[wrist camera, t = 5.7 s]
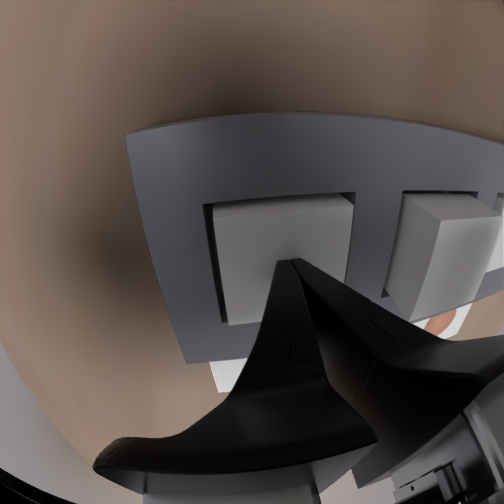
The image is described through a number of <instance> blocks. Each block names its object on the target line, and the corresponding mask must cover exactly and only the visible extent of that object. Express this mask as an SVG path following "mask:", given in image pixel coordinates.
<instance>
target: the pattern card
mask: <svg viewBox="0 0 504 504" xmlns="http://www.w3.org/2000/svg"><path fill="white" fill-rule="evenodd" d="M471 305H472V303H470V304H468V305H465V306H462V307H460V308H457V309H454V310H452V311H449V312H446V313H443V314H440V315H437V316H434V317H431V318H428V319H425V320H422V321H419V322H416V323H413V324H414V325H416V326H418V327H420V328H422V329H424V330H426V331H428V332H430V333H432V334H434V335H436V336H438V337H440V338H442V339H446V338H448V337H451V336H453V335H455V334H457V332H458V330H459V328H460V327H461V325H462V323H463V321H464V319H465V317H466V315H467V313H468V311H469V309H470V307H471ZM247 359H248V358H244V359H235V360H226V361H215V362H209V363H210V367H211V370H212V373H213V377H214V380H215V383H216V386H217V389H218V392H219V393H220V392H231V390H232V388H233V386H234V385H235V383H236V381H237V379H238V377H239V375H240V373H241V371H242V369H243V367H244V365H245V363H246V361H247Z"/></svg>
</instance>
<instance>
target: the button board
mask: <svg viewBox="0 0 504 504" xmlns="http://www.w3.org/2000/svg"><path fill="white" fill-rule="evenodd" d="M125 137H126V144H127V150H128V156H129V162H130V167H131V173H132V178H133V183H134V188H135V193H136V198H137V202H138V207H139V211H140V215H141V220H142V224H143V228H144V232H145V236H146V240H147V244H148V248H149V251H150V255H151V259H152V262H153V266H154V269H155V273H156V276H157V279H158V283H159V286H160V289H161V292H162V296H163V299H164V302H165V305H166V308H167V311H168V314H169V317H170V320H171V323H172V326H173V328H174V331H175V334H176V337H177V339H178V342H179V345H180V348H181V350H182V353H183V355H184V358H185V361H186V363H187V364H188V363H203V362H215V361H226V360H235V359H244V358H248V357H249V355H250V352H251V350H252V348H253V345H254V343H255V341H256V337H257V334H258V331H259V328H260V324H261V322H255V323H247V324H238V325H229V323H228V317H227V311H226V305H225V299H224V292H223V286H222V279H221V273H220V266H219V259H218V252H217V245H216V238H215V230H214V223H213V203H215V202H224V201H233V200H243V199H254V198H265V197H276V196H289V195H303V194H318V193H336V192H338V193H339V194H341V195H342V196H343V197H344V198H345V199H347V200H348V201H349V202H350V203H351V204H353V205H354V208H353V218H352V227H351V236H350V244H349V251H348V258H347V265H346V272H345V278H344V284H345V285H347V286H349V287H350V288H352V289H354V290H355V291H357V292H359V293H360V294H362V295H363V296H365V297H367V298H368V299H370V300H371V301H372V302H375V303H376V304H378V305H380V306H381V307H383V308H385V309H386V310H388V311H390V312H391V313H393V314H395V315H397V316H399V317H401V318H402V319H404V320H406V321H408V320H407V318H406V317H405V316H404V314H403V313H402V311H401V310H400V309H399V307H398V306H397V304H396V303H395V302H394V300H393V299H392V298H391V296H390V295H389V294H388V292H387V291H386V290H385V288H384V283H385V279H386V275H387V271H388V267H389V263H390V258H391V254H392V249H393V244H394V239H395V234H396V229H397V224H398V218H399V212H400V205H401V199H402V194H469V195H471V196H472V197H474V198H476V199H478V200H479V201H481V202H483V203H484V204H486V205H487V206H489V207H491V208H492V209H494V208H495V203H496V199H497V194H498V192H499V193H504V143H501V142H498V141H495V140H492V139H489V138H485V137H482V136H478V135H475V134H471V133H467V132H463V131H459V130H455V129H451V128H447V127H442V126H437V125H432V124H427V123H422V122H416V121H410V120H404V119H397V118H389V117H381V116H372V115H362V114H349V113H332V112H262V113H245V114H232V115H221V116H211V117H203V118H195V119H188V120H181V121H175V122H169V123H163V124H157V125H152V126H148V127H145V128H142V129H139V130H136V131H133V132H131V133H128V134H125ZM503 289H504V267H501V268H498V269H495V270H492V271H489V272H486V273H485V274H484V277H483V279H482V282H481V284H480V286H479V289H478V291H477V293H476V296H475V298H474V300H472V301H469V302H467V303H464V304H461V305H459V306H456V307H453V308H450V309H447V310H445V311H442V312H439V313H436V314H433V315H430V316H426V317H423V318H420V319H417V320H414V321H410V323H412V324H413V323H416V322H419V321H422V320H425V319H428V318H431V317H434V316H437V315H440V314H443V313H446V312H449V311H452V310H454V309H457V308H460V307H462V306H465V305H468V304H470V303H473V302H475V301H478V300H480V299H483V298H485V297H487V296H490V295H492V294H494V293H497V292H499V291H501V290H503ZM372 302H371V303H372ZM408 322H409V321H408Z"/></svg>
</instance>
